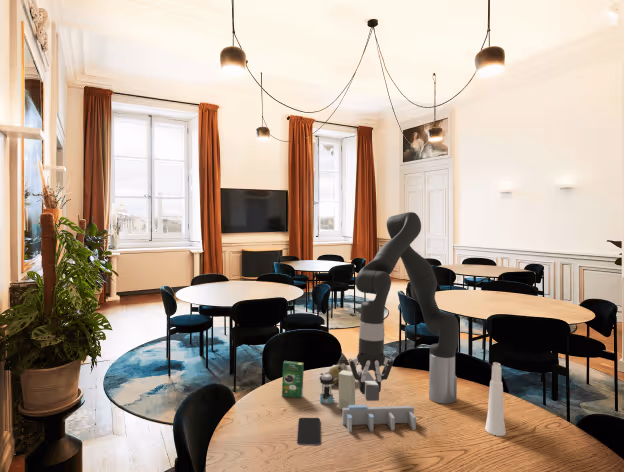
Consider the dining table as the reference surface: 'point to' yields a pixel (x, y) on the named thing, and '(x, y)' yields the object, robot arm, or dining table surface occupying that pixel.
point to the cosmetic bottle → (495, 404)
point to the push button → (326, 389)
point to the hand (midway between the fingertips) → (369, 392)
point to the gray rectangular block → (370, 388)
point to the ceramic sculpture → (337, 371)
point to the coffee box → (292, 379)
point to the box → (346, 389)
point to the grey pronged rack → (378, 416)
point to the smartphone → (309, 431)
